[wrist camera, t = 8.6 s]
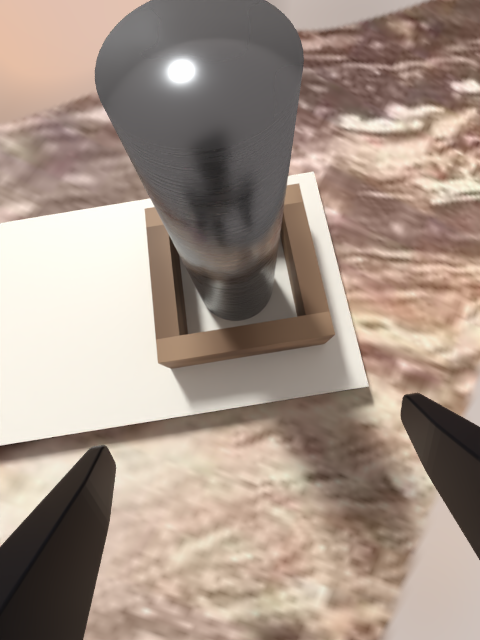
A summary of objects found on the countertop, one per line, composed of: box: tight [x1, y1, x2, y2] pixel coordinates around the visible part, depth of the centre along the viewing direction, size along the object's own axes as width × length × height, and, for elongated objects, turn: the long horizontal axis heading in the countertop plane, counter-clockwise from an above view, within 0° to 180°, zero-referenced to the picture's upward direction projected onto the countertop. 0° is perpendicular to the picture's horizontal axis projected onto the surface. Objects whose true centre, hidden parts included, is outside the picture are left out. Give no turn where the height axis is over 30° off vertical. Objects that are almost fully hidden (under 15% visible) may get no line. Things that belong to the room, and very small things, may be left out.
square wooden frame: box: [145, 183, 335, 369], centre depth 18 cm, size 9×9×2 cm
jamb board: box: [0, 172, 369, 445], centre depth 20 cm, size 23×14×1 cm, turn 99°
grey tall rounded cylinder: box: [95, 0, 304, 321], centre depth 13 cm, size 4×4×13 cm
